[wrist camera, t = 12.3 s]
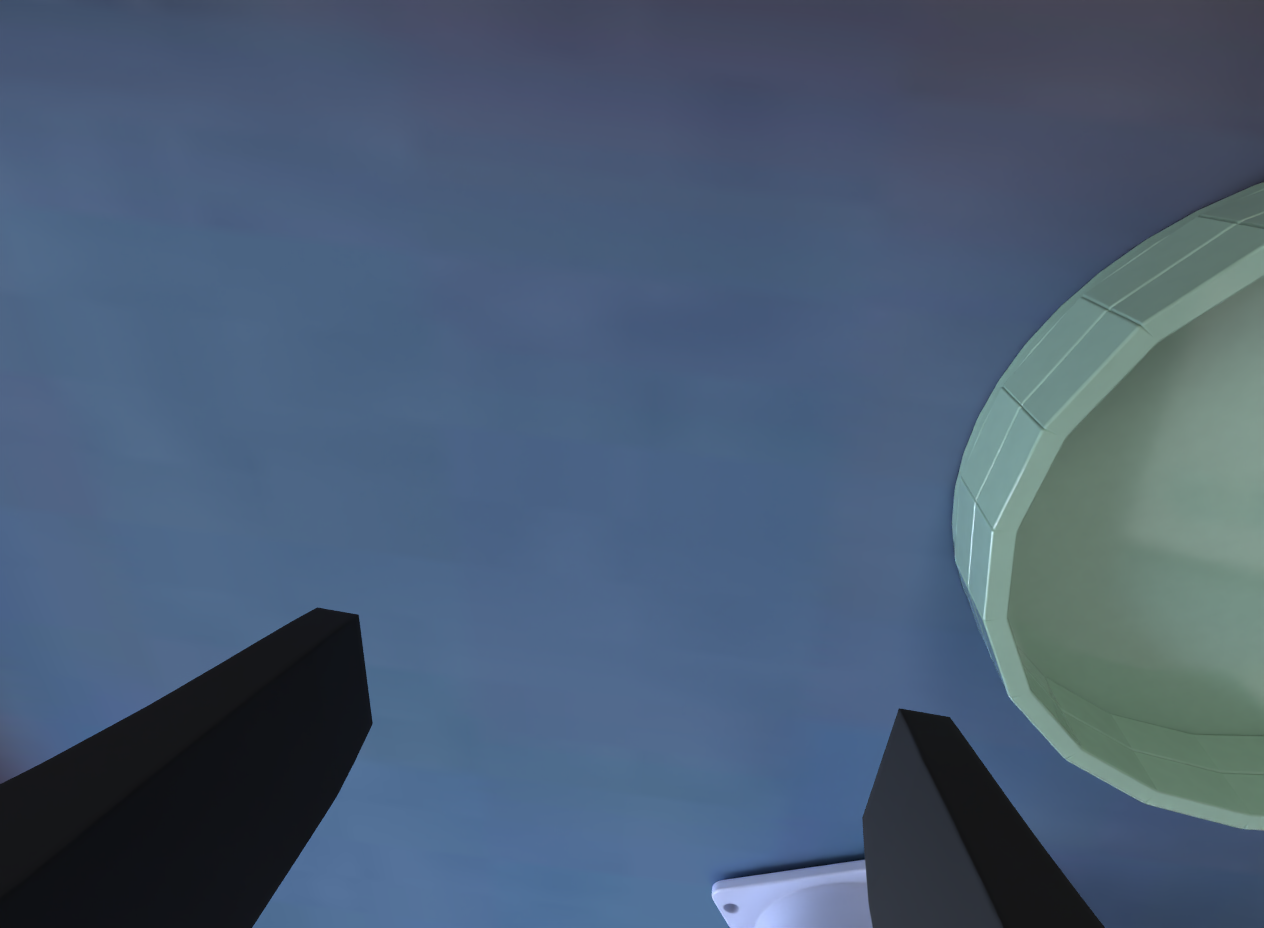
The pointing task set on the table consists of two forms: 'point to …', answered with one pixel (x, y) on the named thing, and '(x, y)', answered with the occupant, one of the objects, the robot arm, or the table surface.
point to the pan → (1135, 520)
